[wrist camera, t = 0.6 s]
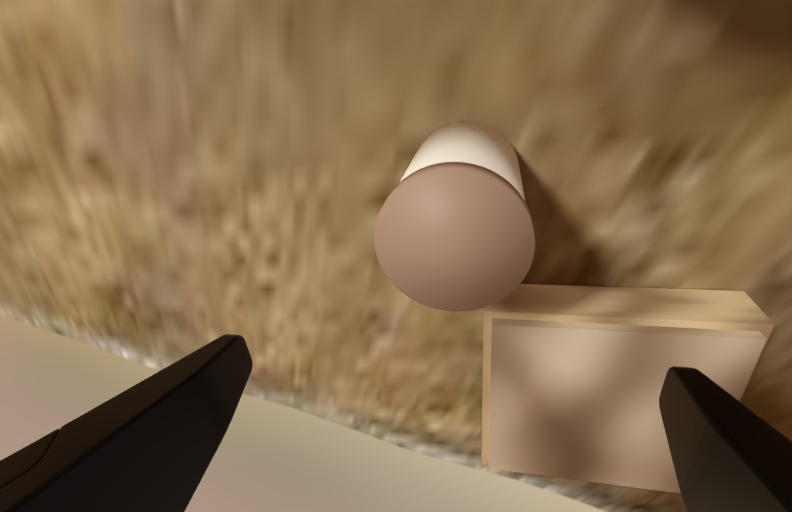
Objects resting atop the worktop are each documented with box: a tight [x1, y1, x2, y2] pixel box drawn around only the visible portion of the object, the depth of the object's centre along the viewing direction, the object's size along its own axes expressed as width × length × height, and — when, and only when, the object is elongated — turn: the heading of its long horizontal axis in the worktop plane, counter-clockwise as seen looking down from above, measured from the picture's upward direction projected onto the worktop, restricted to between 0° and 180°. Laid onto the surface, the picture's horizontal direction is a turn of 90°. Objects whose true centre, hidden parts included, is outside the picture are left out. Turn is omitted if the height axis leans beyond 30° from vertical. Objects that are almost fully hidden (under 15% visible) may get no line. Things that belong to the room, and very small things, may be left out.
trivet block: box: [482, 284, 774, 493], centre depth 22 cm, size 12×12×3 cm
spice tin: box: [374, 121, 535, 311], centre depth 16 cm, size 5×5×7 cm
